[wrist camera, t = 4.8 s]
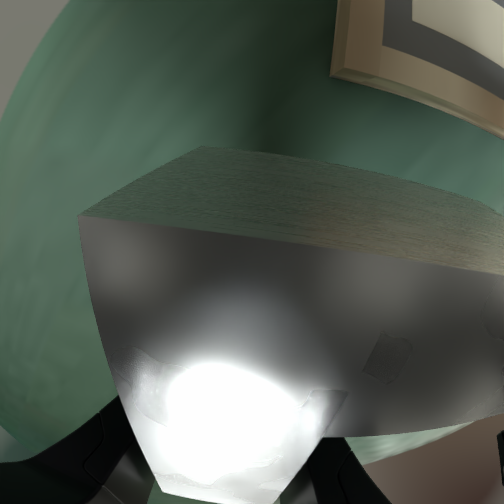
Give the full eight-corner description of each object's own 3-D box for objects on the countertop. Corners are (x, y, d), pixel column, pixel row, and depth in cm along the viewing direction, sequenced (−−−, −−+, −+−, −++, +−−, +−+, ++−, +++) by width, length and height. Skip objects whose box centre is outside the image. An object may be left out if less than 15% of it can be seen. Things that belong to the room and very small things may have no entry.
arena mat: (530, -22, 4) (535, -24, 3) (533, 157, 10) (540, 160, 10) (342, -116, 4) (344, -122, 4) (329, 76, 10) (332, 75, 10)
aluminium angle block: (201, 145, 7) (77, 214, 2) (480, 201, 7) (597, 292, 2) (195, 372, 10) (163, 491, 6) (393, 388, 10) (419, 493, 6)
